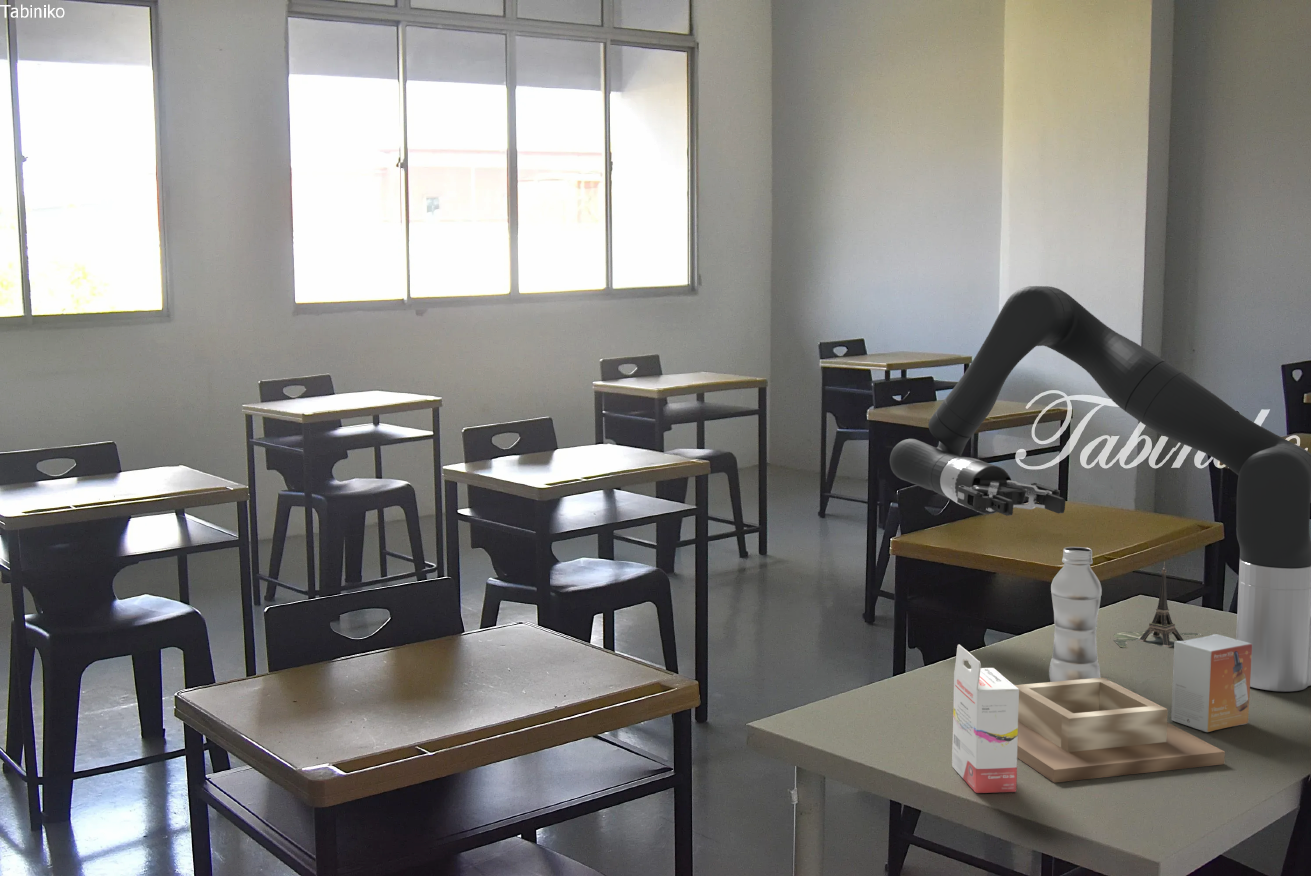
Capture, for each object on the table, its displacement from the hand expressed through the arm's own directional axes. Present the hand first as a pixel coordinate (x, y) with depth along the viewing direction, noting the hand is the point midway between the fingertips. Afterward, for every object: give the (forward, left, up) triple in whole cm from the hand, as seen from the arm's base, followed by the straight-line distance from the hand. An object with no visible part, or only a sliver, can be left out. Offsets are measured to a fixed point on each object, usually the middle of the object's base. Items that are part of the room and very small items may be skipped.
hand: (1037, 507), depth 178 cm
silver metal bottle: (-1, +10, -24) cm, 26 cm away
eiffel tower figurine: (-29, -10, -25) cm, 39 cm away
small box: (-11, +25, -24) cm, 36 cm away
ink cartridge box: (+26, +35, -24) cm, 50 cm away
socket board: (+8, +27, -24) cm, 37 cm away
